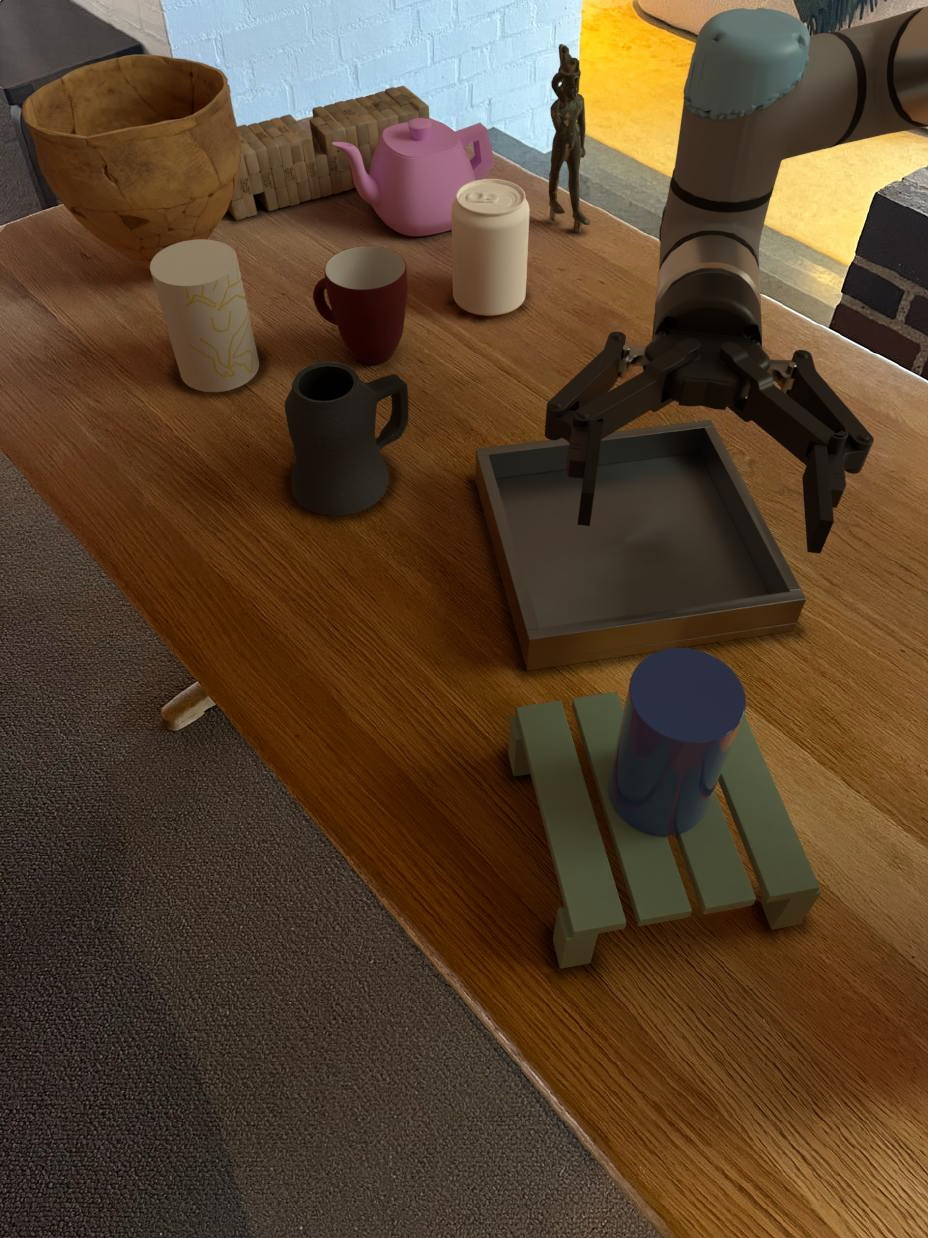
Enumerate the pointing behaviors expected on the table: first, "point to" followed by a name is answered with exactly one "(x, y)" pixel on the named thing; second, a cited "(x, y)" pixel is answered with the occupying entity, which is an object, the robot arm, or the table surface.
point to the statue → (567, 135)
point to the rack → (648, 858)
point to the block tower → (314, 150)
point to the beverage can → (490, 246)
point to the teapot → (419, 173)
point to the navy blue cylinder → (674, 739)
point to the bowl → (139, 149)
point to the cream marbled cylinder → (206, 314)
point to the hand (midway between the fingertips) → (701, 523)
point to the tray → (633, 547)
